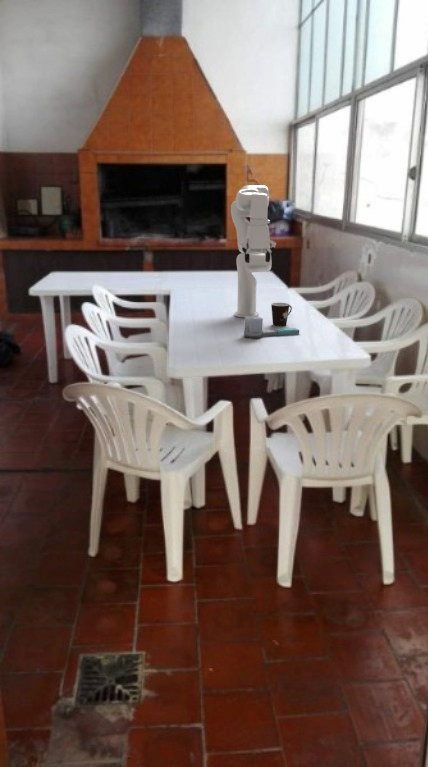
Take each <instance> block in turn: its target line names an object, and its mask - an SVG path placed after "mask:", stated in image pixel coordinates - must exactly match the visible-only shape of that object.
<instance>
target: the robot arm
mask: <svg viewBox="0 0 428 767" xmlns="http://www.w3.org/2000/svg"><path fill="white" fill-rule="evenodd" d="M269 206H270V191H269V188H268V187H267V186H266V185H261V184H260V185H254V184H253V185H251V184H250V185H249V184H248V185H247V184H246V185H244V186H242V187H241V188H240V190H239V191H238V192H237V193H236V195H235V200H234V201H233V202H232V203H231V205H230V214H231V218H232V222H233V224H234V227H235V230H236V240H237V247H238V248H237V249H238V250H239V252H240V253H239V254H238V255H237V256H236V260H235V261H236V268H237V269H236V270H237V305H236V306H237V310H236V311H235V312H234V313H233V314H234V316H235V317H238V318H244V319H245V317H249V316H259V315H260V313H259V312H257V283H258V282H257V279H256V277H255V275H253V273H265V272H267V273H268V272H269V271H270V270H271V269H272V263H273V262H272V252H273V251H274V250H275V248H276V245H277V242H275V241H274V240H272V239H270V238H271V236H270V228H269V226H268V224H270V223H271V220H270V219H268V207H269ZM247 218H249V220H248V219H247ZM259 317H260V316H259Z"/></svg>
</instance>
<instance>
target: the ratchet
mask: <svg viewBox="0 0 428 767" xmlns="http://www.w3.org/2000/svg"><path fill="white" fill-rule="evenodd" d="M299 334H300V329H299V328H297V327H288V328H275V329H273V330H272V329H271V330H262V332H259V333H248V332H247V331H245V329H244V330H243V337H244V338H245V339H249V338H250V340H258V339H262V338H264V337H266V338H267V337H276V336H277V337H280V336H292V335H293V336H294V335H299Z"/></svg>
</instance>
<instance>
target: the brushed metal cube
mask: <svg viewBox="0 0 428 767" xmlns="http://www.w3.org/2000/svg"><path fill="white" fill-rule="evenodd" d="M263 321H264V319H263V318H262V317H260V316H249V317H245V318H244V330H245V331H247V332H248V333H259V332H262V331H263V326H264V325H263V323H264V322H263Z"/></svg>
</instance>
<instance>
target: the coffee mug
mask: <svg viewBox="0 0 428 767" xmlns="http://www.w3.org/2000/svg"><path fill="white" fill-rule="evenodd" d="M292 308H293V307H292V305H291V304H290V303H288V302H287V303H286V302H272V303H271V317H272V318H271V319H272V326H274V327H280V328H281V327H286V326H287V323H288V317H289V315H291V312H292V310H293V309H292Z"/></svg>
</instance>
